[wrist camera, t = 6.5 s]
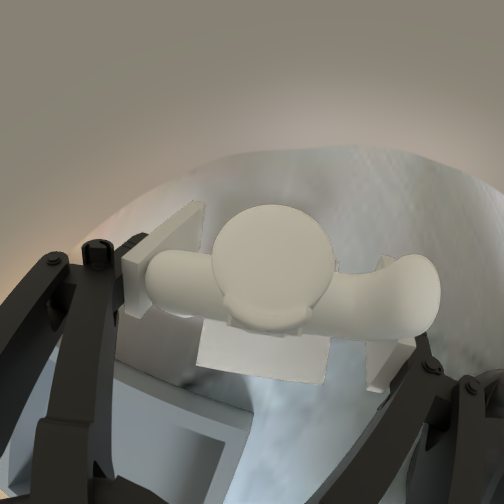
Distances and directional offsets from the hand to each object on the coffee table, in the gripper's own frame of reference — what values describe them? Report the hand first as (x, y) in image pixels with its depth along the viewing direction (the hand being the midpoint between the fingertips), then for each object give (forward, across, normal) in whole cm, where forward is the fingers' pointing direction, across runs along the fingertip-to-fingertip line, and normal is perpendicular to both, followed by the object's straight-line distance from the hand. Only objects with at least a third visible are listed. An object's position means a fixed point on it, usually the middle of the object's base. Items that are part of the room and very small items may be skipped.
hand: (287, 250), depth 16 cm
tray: (-8, -7, -16) cm, 19 cm away
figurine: (+2, 0, -6) cm, 7 cm away
